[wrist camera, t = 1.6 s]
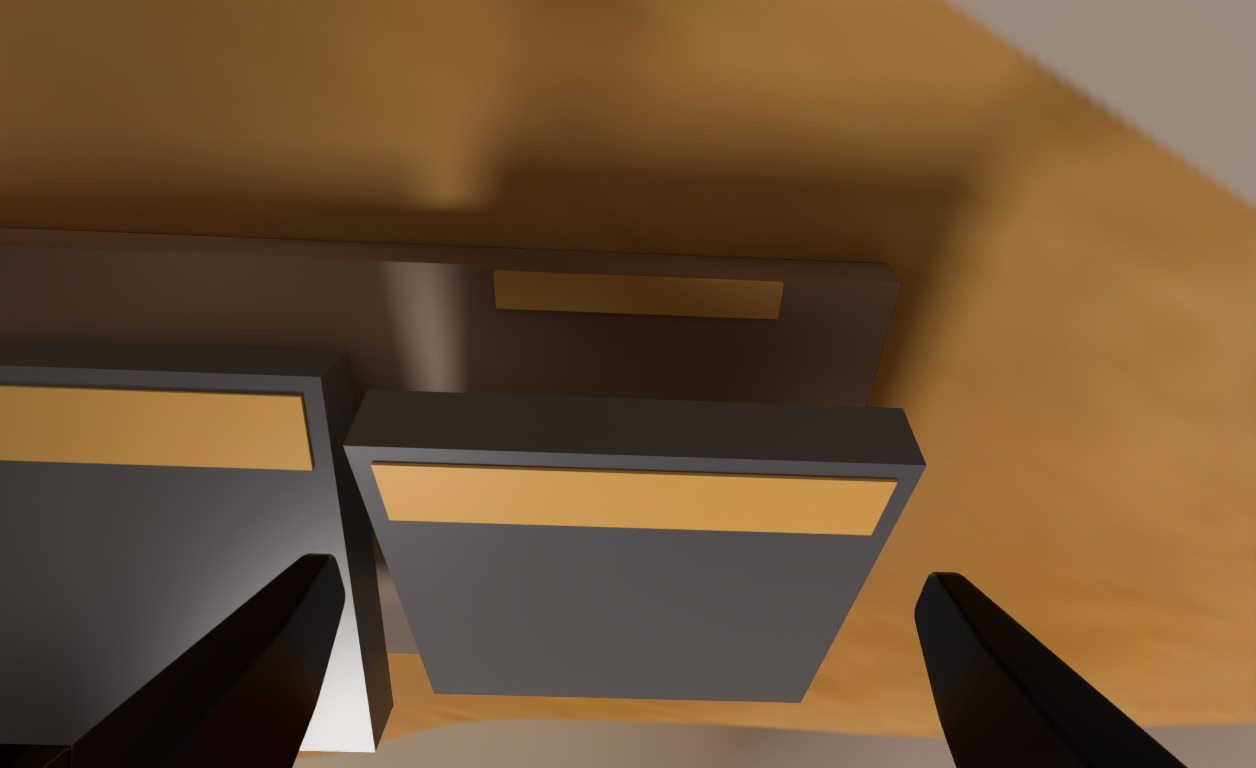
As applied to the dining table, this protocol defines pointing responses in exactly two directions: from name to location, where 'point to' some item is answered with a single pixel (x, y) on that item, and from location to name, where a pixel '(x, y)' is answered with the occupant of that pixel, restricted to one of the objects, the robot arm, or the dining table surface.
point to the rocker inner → (172, 523)
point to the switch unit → (468, 318)
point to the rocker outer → (627, 537)
